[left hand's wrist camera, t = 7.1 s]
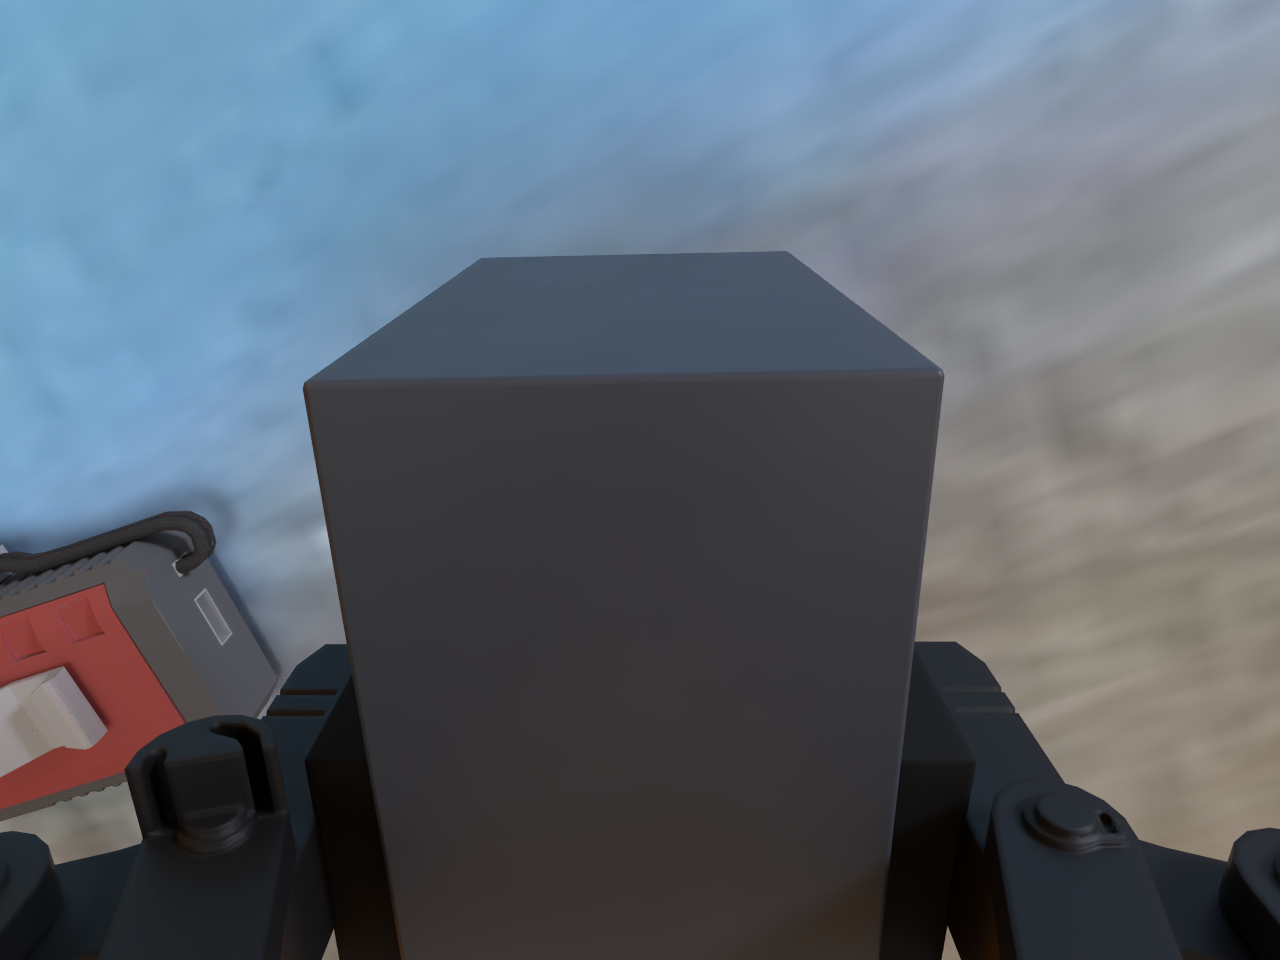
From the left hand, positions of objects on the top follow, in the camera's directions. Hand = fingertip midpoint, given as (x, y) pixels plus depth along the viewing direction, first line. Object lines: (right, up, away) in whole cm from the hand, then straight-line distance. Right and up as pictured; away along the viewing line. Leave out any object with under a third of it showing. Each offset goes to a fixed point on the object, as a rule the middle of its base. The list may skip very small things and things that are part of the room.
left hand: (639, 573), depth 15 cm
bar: (+1, -30, +13) cm, 32 cm away
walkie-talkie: (-21, -4, +12) cm, 24 cm away
